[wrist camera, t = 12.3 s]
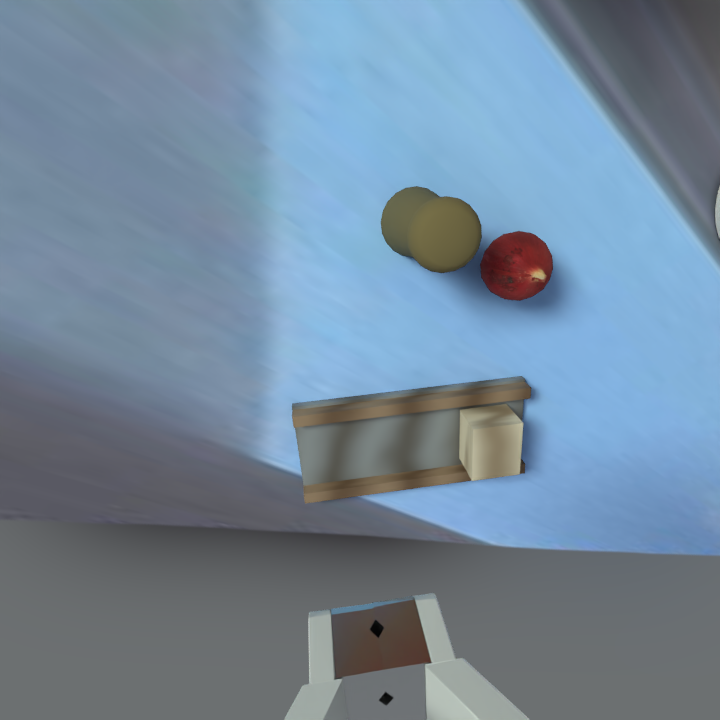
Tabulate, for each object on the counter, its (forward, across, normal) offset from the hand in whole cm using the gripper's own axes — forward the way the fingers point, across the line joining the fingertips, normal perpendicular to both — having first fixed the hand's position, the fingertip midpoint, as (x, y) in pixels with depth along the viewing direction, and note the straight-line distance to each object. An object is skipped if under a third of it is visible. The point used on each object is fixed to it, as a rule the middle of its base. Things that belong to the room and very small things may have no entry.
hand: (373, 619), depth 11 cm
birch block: (+34, -16, +17) cm, 41 cm away
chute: (+34, -8, +17) cm, 39 cm away
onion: (+34, -17, -1) cm, 38 cm away
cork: (+34, -9, -5) cm, 36 cm away
